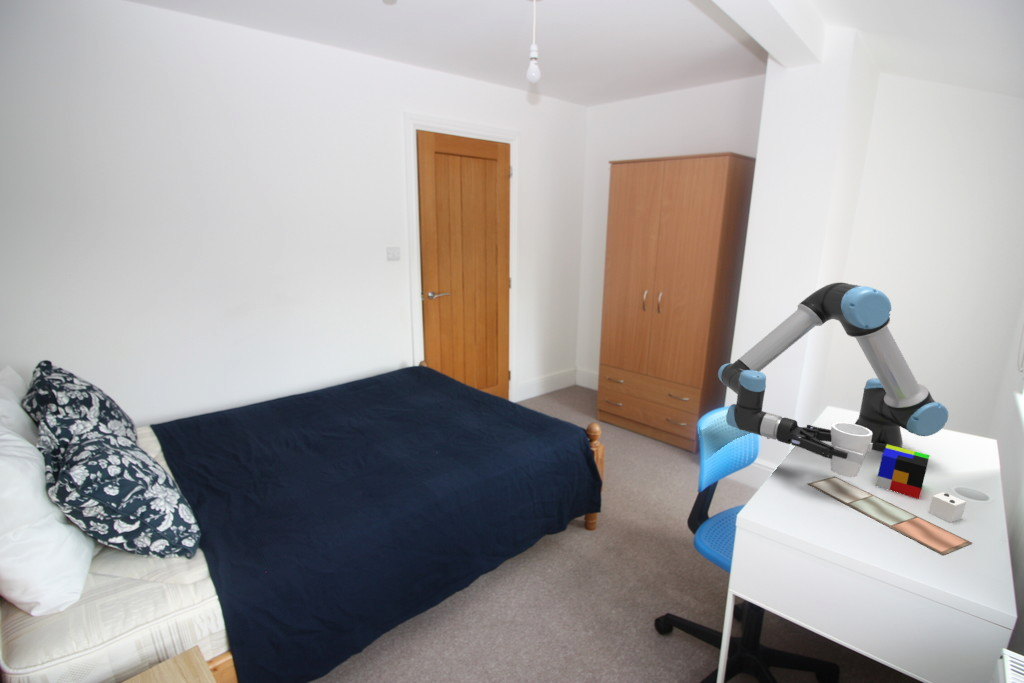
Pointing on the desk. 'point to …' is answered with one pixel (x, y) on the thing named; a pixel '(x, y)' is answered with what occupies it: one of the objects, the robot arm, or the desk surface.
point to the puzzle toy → (902, 471)
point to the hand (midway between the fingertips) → (867, 453)
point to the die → (947, 507)
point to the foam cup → (849, 446)
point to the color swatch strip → (892, 516)
